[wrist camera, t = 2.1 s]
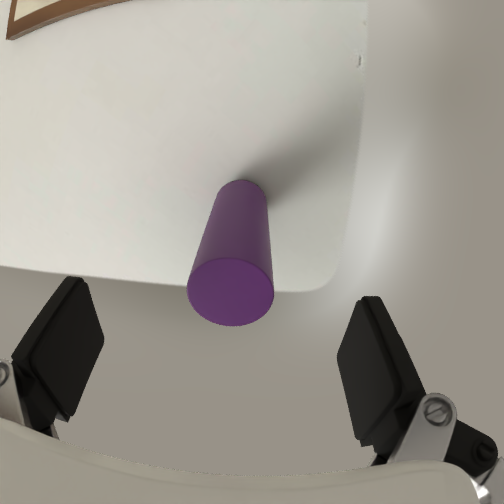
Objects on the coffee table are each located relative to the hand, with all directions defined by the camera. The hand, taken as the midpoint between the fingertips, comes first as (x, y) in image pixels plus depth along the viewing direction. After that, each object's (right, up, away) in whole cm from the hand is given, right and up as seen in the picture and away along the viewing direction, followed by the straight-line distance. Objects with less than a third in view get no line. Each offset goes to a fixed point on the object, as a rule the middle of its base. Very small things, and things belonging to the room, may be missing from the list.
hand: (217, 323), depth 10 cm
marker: (+1, +6, +10) cm, 11 cm away
